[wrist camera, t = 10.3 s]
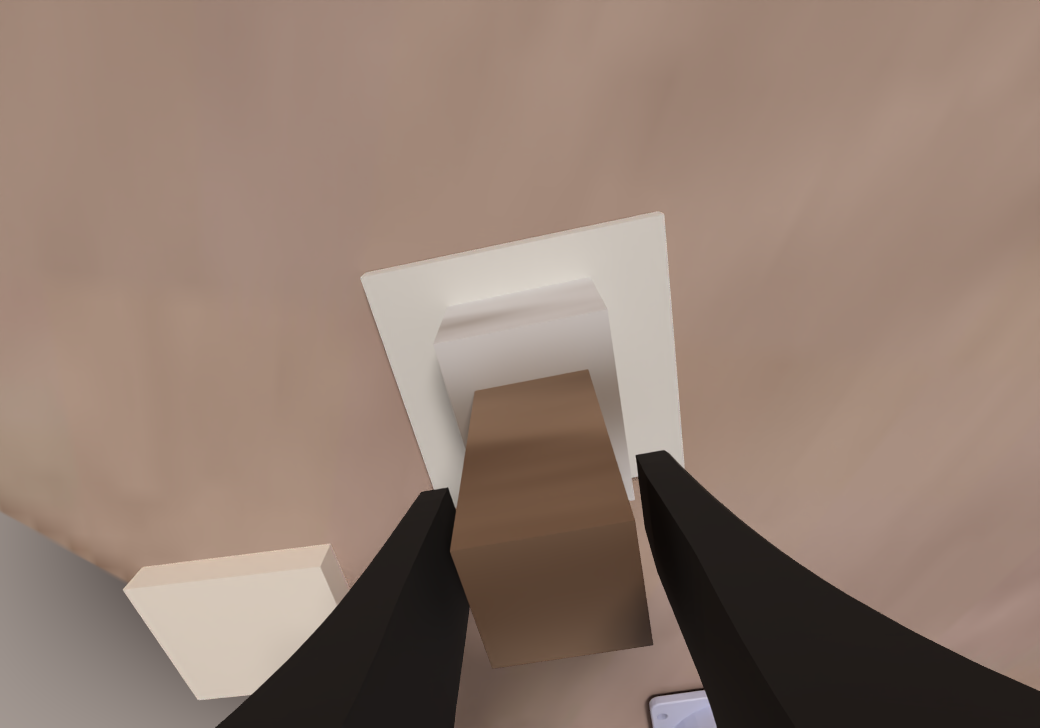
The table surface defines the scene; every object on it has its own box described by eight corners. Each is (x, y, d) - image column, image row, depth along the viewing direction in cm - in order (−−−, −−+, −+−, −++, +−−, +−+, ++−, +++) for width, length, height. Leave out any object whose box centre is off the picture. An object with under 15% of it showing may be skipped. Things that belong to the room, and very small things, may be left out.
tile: (371, 682, 22) (198, 700, 22) (380, 648, 23) (217, 665, 24) (320, 566, 19) (123, 589, 19) (334, 535, 20) (150, 558, 21)
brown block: (616, 442, 17) (697, 690, 10) (492, 464, 18) (475, 721, 10) (590, 276, 15) (672, 433, 7) (447, 306, 15) (378, 485, 7)
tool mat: (679, 458, 18) (684, 468, 18) (443, 499, 19) (441, 510, 19) (658, 211, 15) (663, 214, 14) (365, 272, 15) (360, 277, 15)
